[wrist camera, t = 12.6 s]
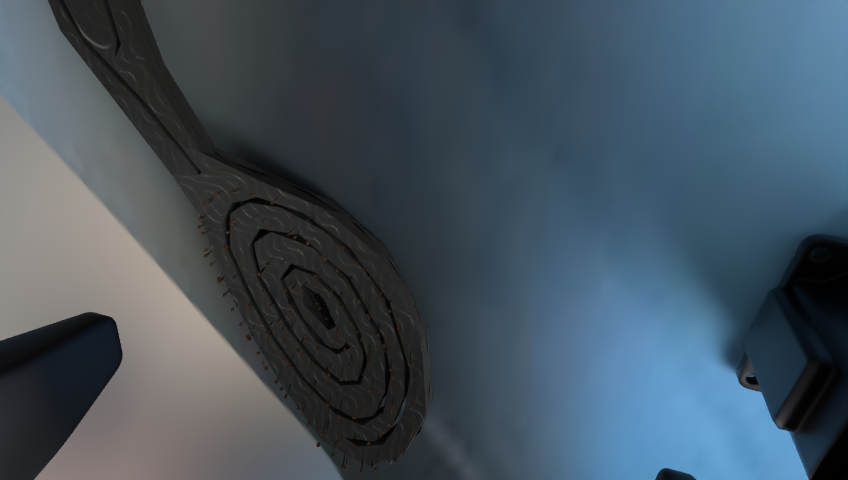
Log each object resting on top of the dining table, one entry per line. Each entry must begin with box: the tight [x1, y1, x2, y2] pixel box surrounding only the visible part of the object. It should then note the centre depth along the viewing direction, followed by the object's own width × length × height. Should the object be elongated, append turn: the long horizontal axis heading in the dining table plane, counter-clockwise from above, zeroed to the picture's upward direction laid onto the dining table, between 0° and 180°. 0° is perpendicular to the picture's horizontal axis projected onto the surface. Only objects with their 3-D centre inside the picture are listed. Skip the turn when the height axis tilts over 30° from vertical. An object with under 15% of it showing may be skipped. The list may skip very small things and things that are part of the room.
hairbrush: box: [48, 0, 433, 472], centre depth 22 cm, size 8×4×25 cm
